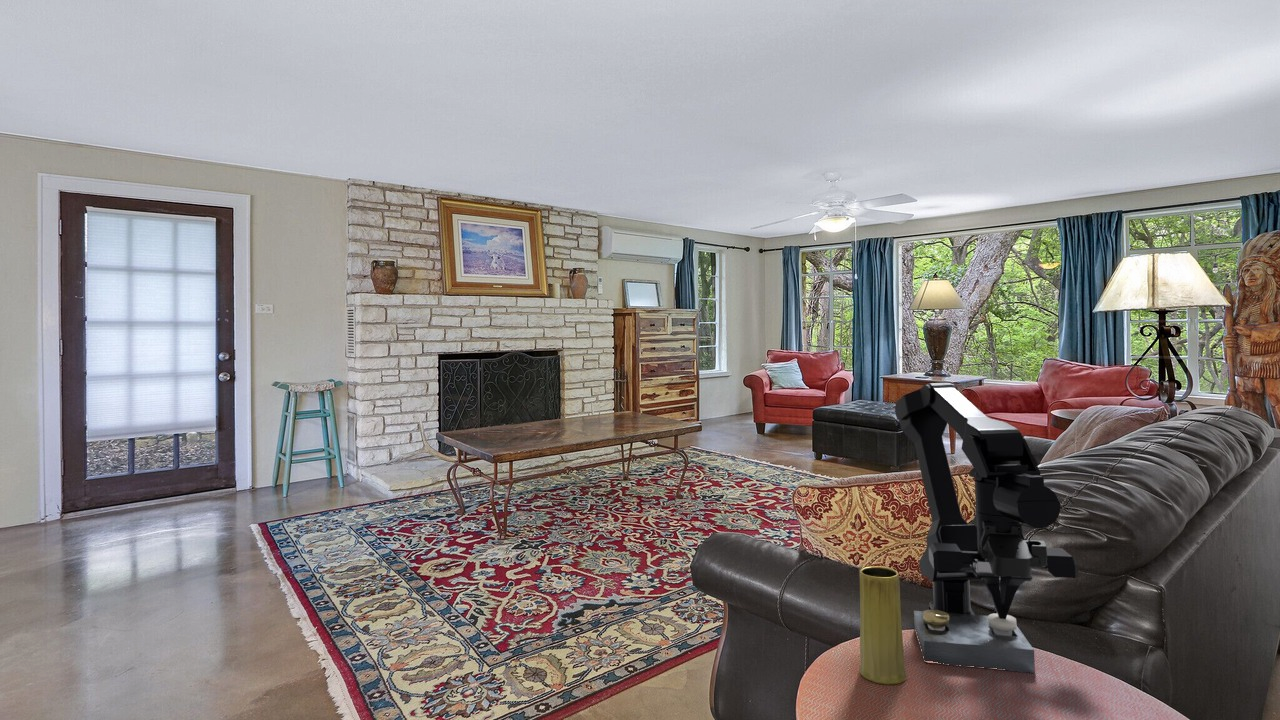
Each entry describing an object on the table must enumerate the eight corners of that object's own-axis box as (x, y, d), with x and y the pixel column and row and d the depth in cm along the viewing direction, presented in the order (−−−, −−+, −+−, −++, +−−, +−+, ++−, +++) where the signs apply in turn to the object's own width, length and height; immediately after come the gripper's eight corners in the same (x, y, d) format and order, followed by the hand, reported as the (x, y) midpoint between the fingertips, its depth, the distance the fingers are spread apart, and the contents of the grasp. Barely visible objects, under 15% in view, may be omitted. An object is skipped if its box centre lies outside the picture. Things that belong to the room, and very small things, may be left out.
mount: (914, 630, 104) (913, 610, 104) (1011, 638, 100) (1010, 617, 100) (924, 663, 93) (923, 640, 93) (1035, 673, 89) (1034, 649, 89)
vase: (898, 665, 92) (895, 565, 93) (912, 686, 86) (908, 578, 87) (855, 664, 93) (851, 565, 93) (865, 685, 87) (861, 578, 87)
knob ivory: (987, 645, 97) (985, 612, 97) (1014, 647, 96) (1012, 614, 96) (992, 655, 94) (991, 621, 94) (1020, 657, 93) (1019, 623, 93)
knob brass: (922, 640, 100) (921, 608, 100) (948, 642, 99) (946, 610, 99) (926, 650, 96) (924, 617, 97) (952, 652, 95) (951, 619, 96)
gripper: (937, 522, 90) (941, 634, 90) (1091, 527, 85) (1096, 646, 85) (926, 505, 101) (930, 605, 101) (1062, 509, 96) (1067, 615, 96)
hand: (1001, 617), depth 95 cm, fingers closed, pressing on knob ivory
